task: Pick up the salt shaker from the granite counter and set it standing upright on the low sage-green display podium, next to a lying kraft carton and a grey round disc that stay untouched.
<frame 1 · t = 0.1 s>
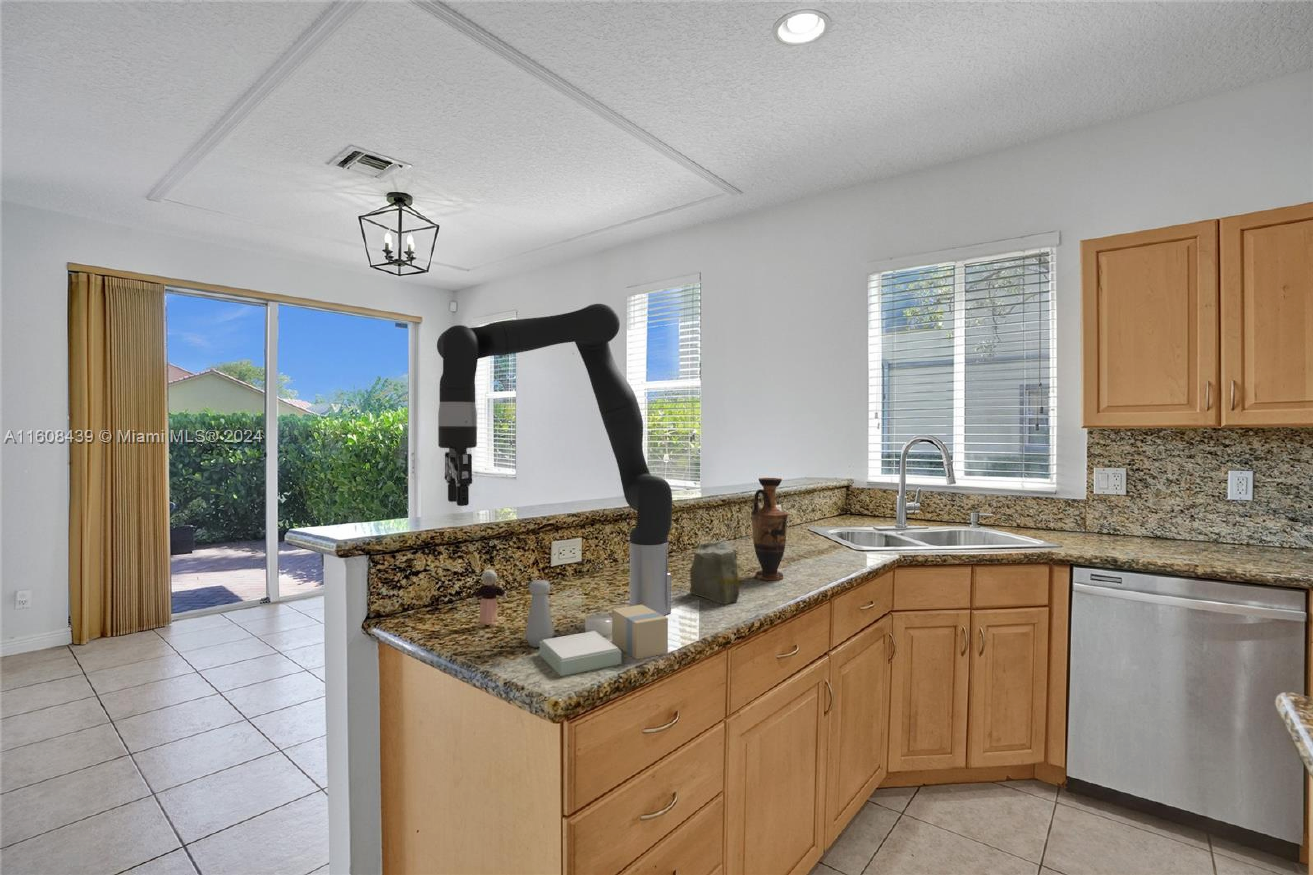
hand: (457, 503, 125), 29 cm above the counter, fingers open, 8 cm apart
kraft carton: (639, 647, 124), on the counter
podium: (579, 659, 118), on the counter
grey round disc: (599, 632, 134), on the counter
stone block: (720, 597, 163), on the counter
salt shaker: (539, 644, 126), on the counter
grandmother figurine: (489, 626, 138), on the counter
vase: (769, 578, 184), on the counter
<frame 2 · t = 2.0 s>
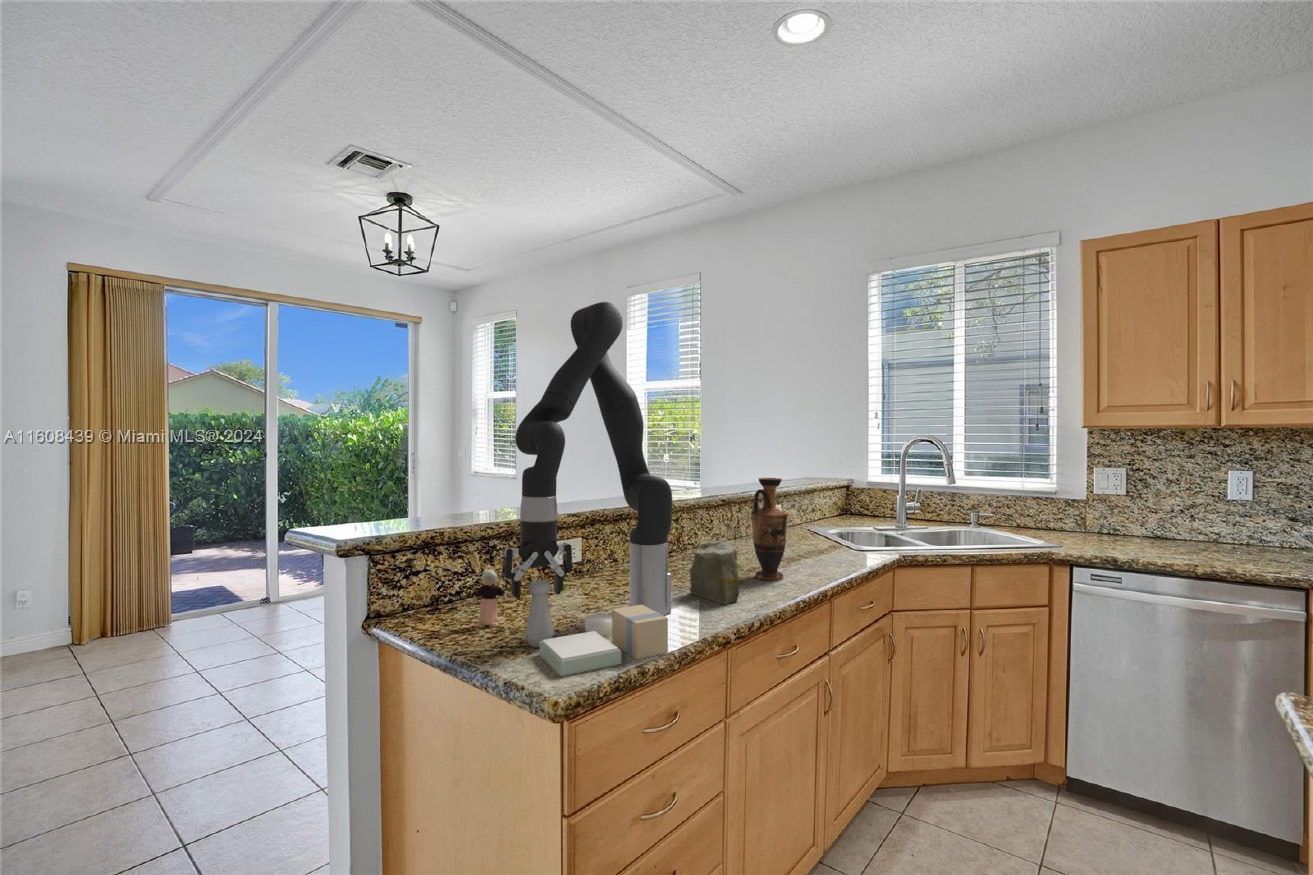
hand: (537, 596, 126), 10 cm above the counter, fingers open, 8 cm apart
nothing on the counter moved.
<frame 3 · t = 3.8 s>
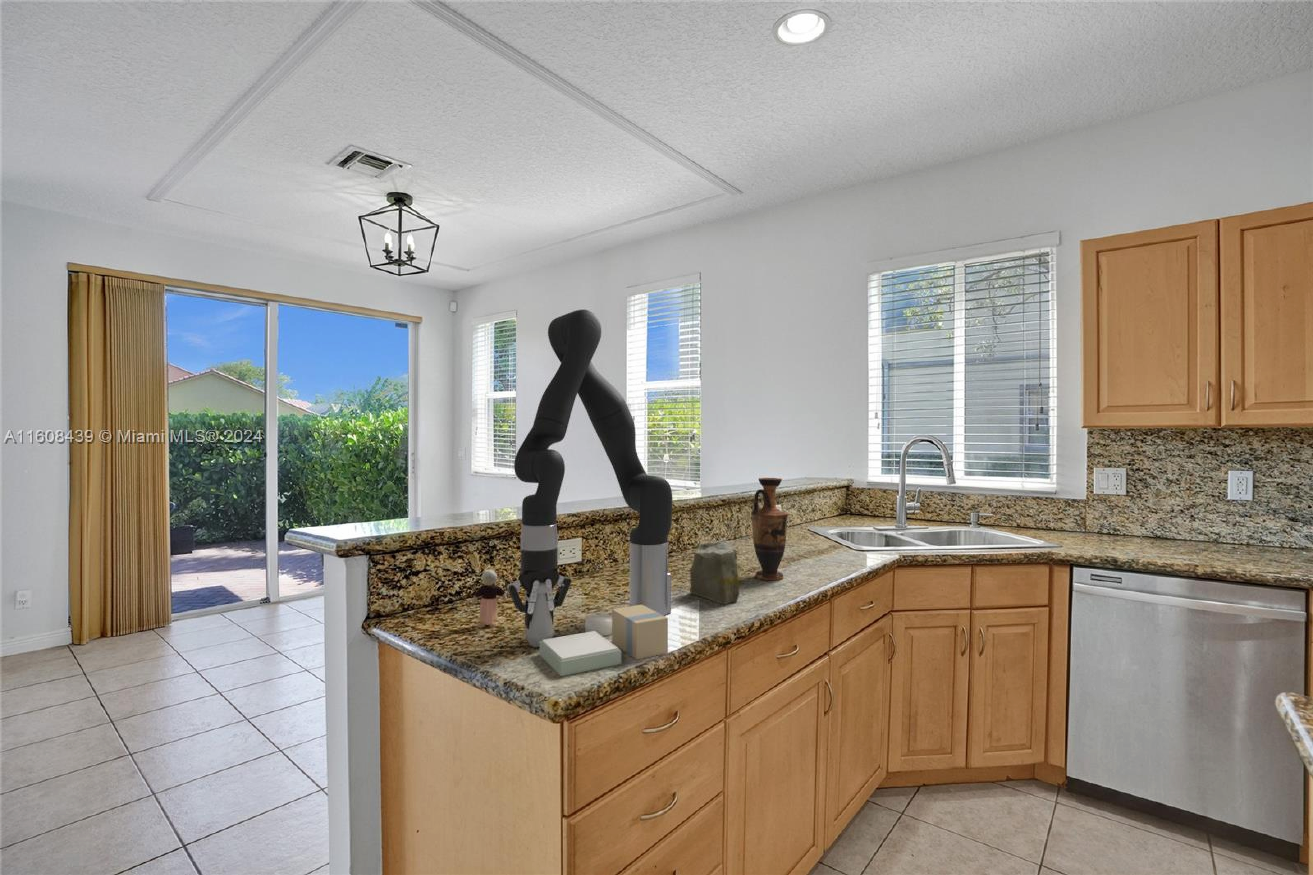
hand: (539, 628, 126), 3 cm above the counter, fingers closed on salt shaker, 3 cm apart
salt shaker: (539, 644, 126), on the counter, touching gripper
everything else where it was.
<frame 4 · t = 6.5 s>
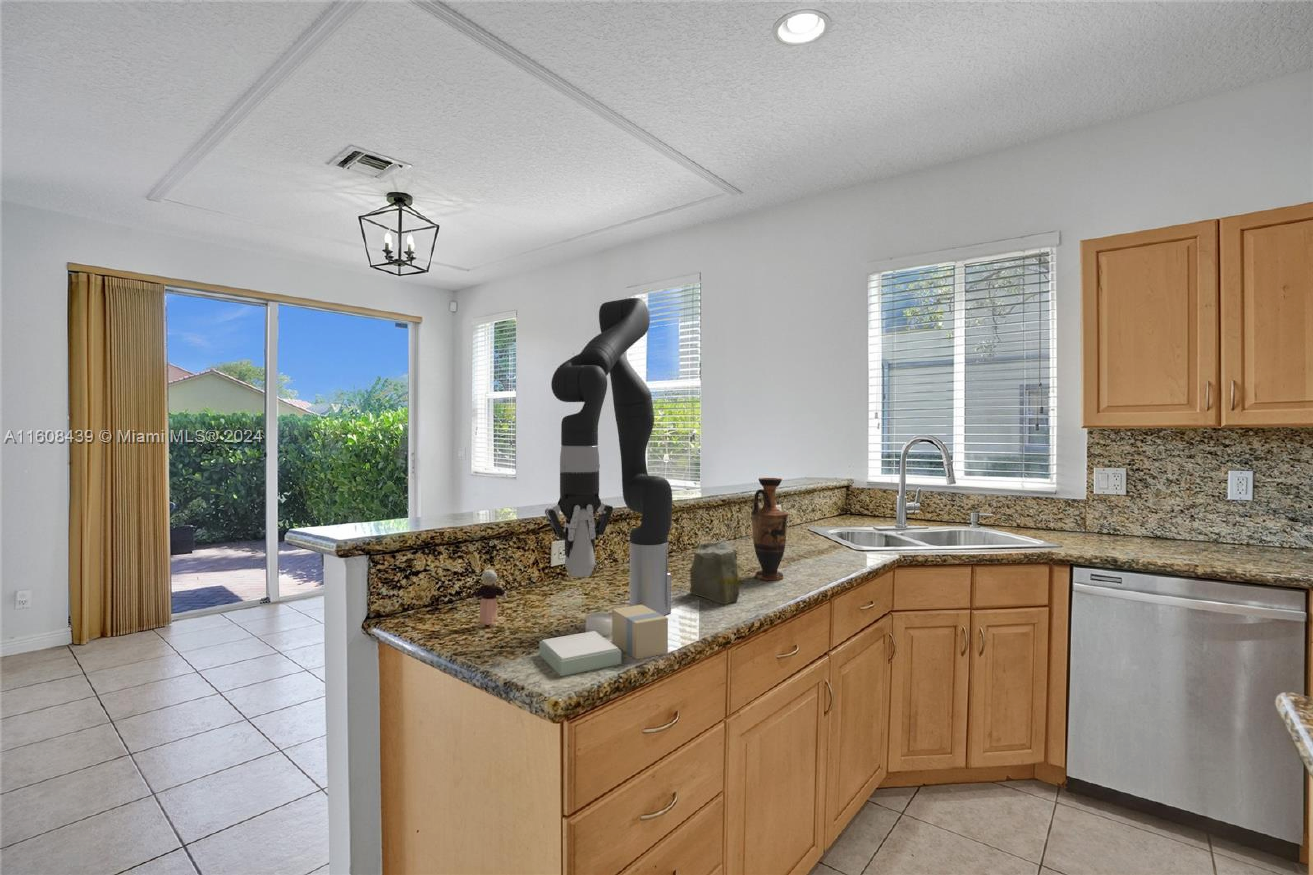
hand: (579, 558, 118), 19 cm above the counter, fingers closed on salt shaker, 3 cm apart
salt shaker: (580, 575, 118), point 16 cm above the counter, touching gripper
everything else where it was.
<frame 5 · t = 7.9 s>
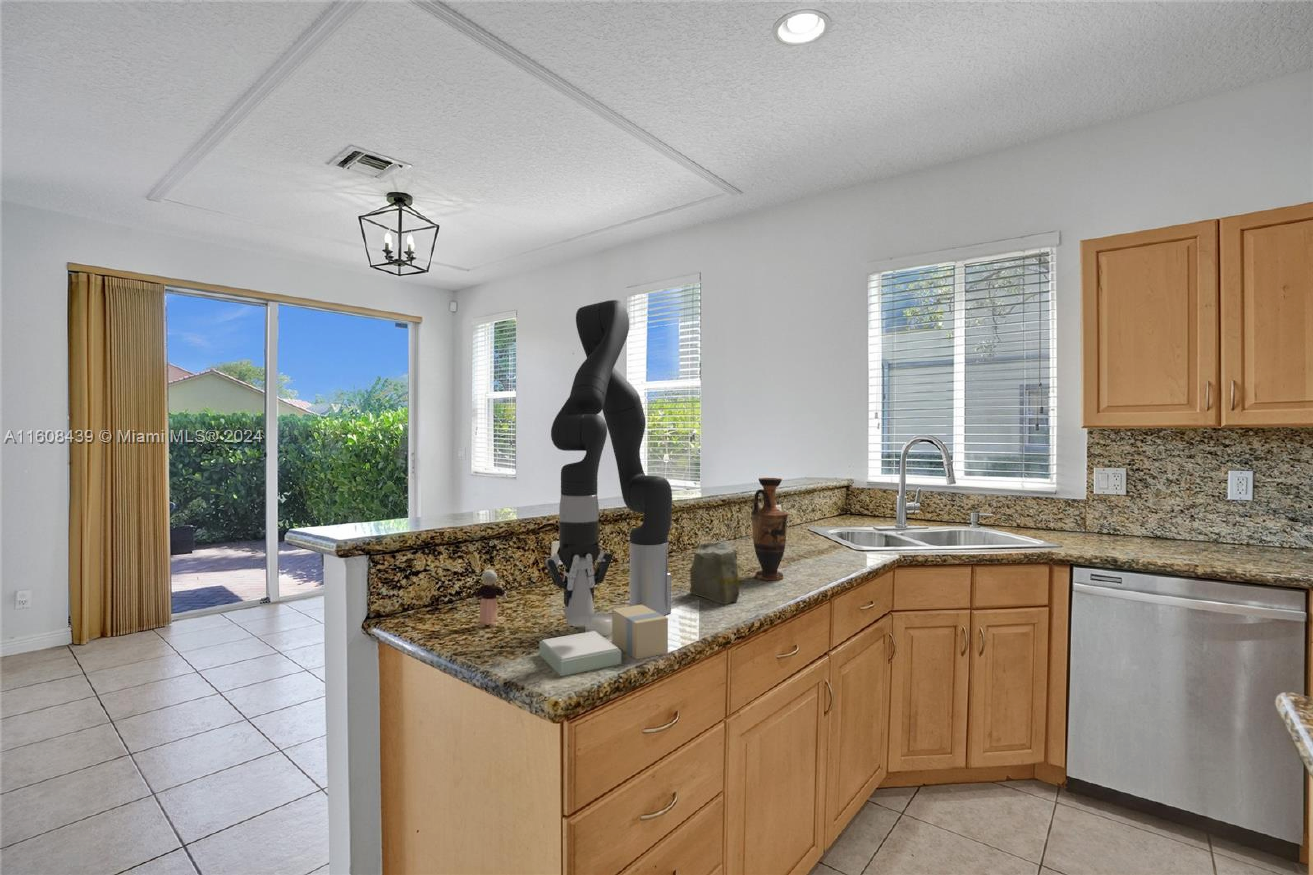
hand: (578, 606, 118), 10 cm above the counter, fingers closed on salt shaker, 3 cm apart
salt shaker: (579, 624, 118), point 7 cm above the counter, touching gripper
everything else where it was.
when the fingers open (8 cm above the counter, at t = 9.2 s): salt shaker drops 1 cm, resting on podium.
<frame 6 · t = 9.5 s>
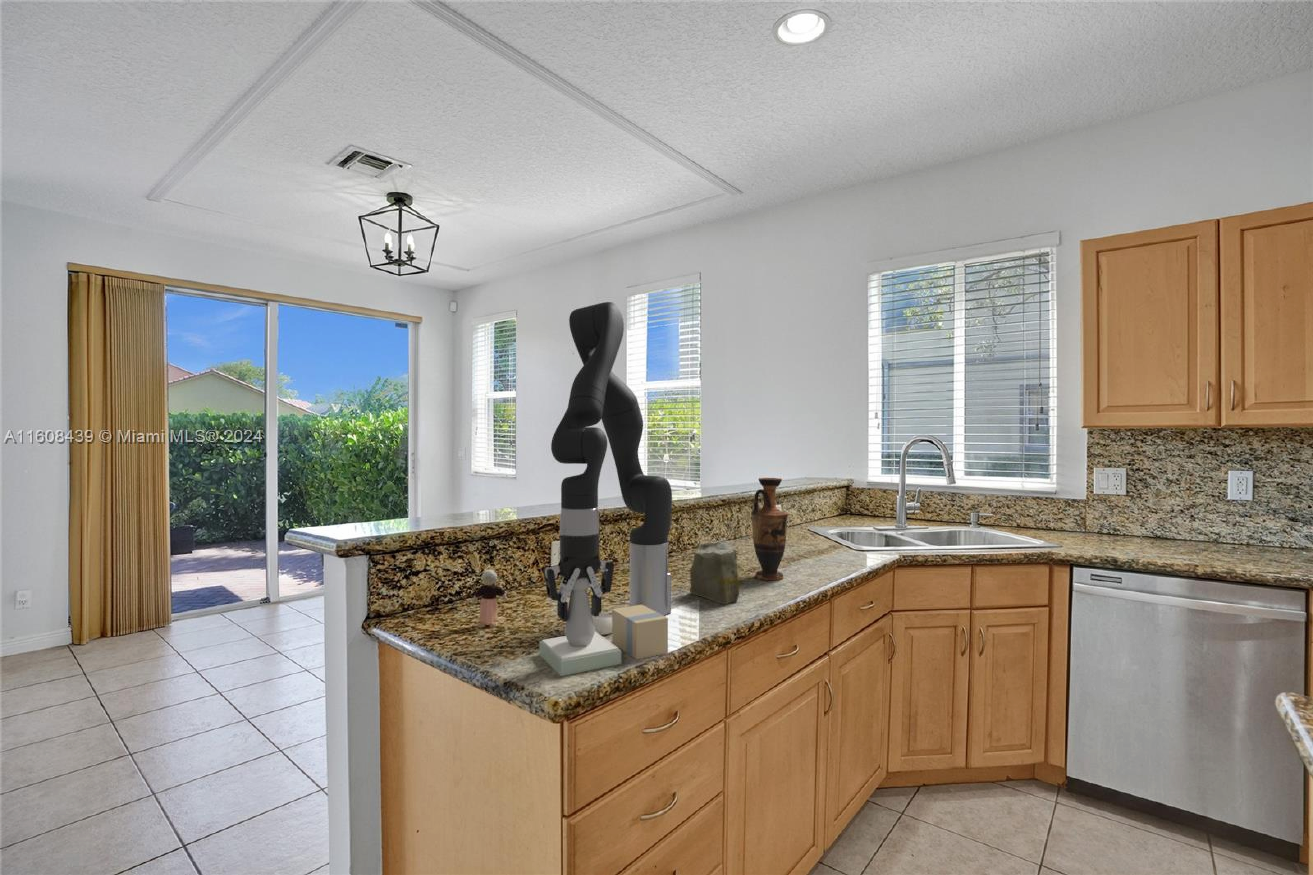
hand: (579, 617, 118), 8 cm above the counter, fingers open, 6 cm apart
salt shaker: (580, 644, 118), point 3 cm above the counter, touching podium
everything else where it was.
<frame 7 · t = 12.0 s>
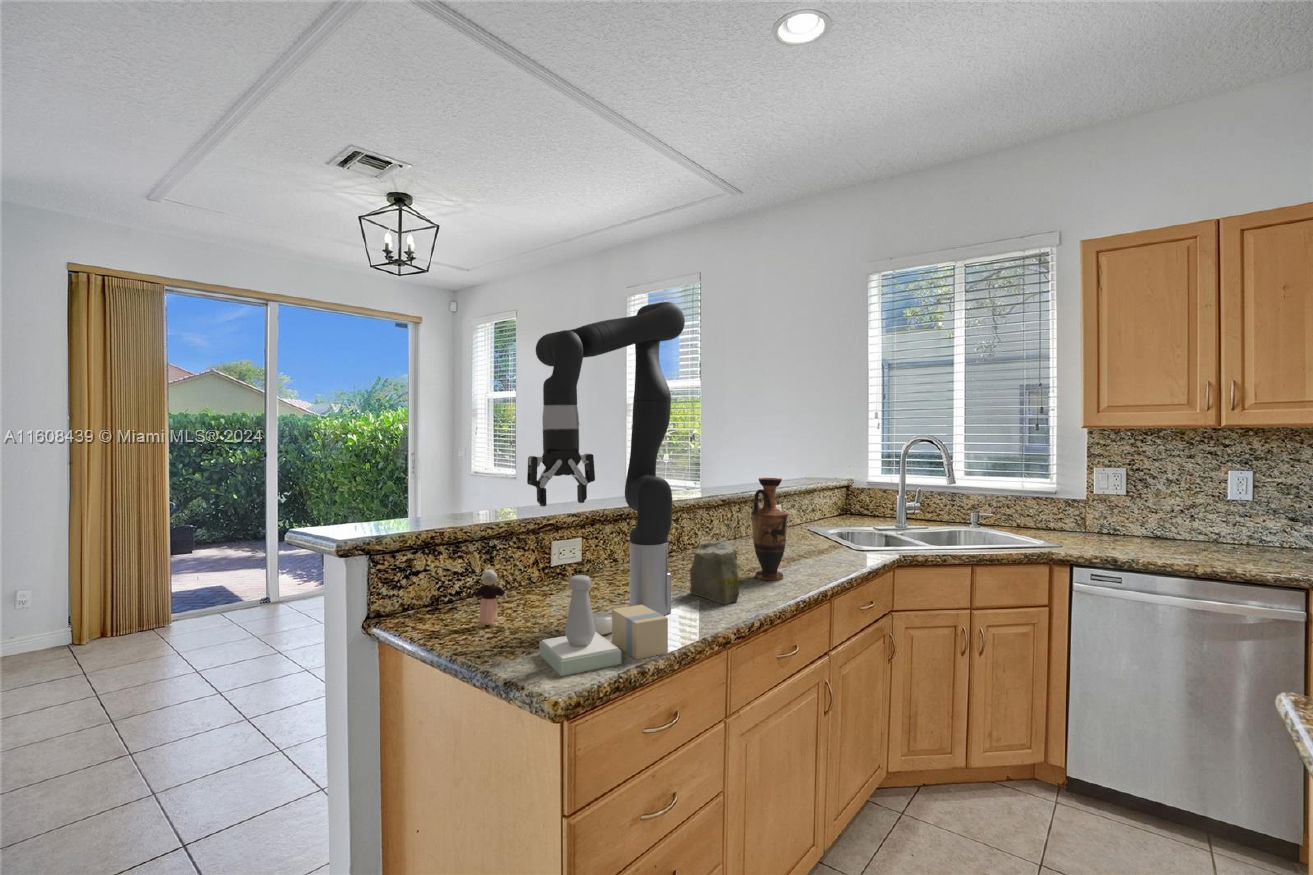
hand: (562, 504, 128), 29 cm above the counter, fingers open, 8 cm apart
nothing on the counter moved.
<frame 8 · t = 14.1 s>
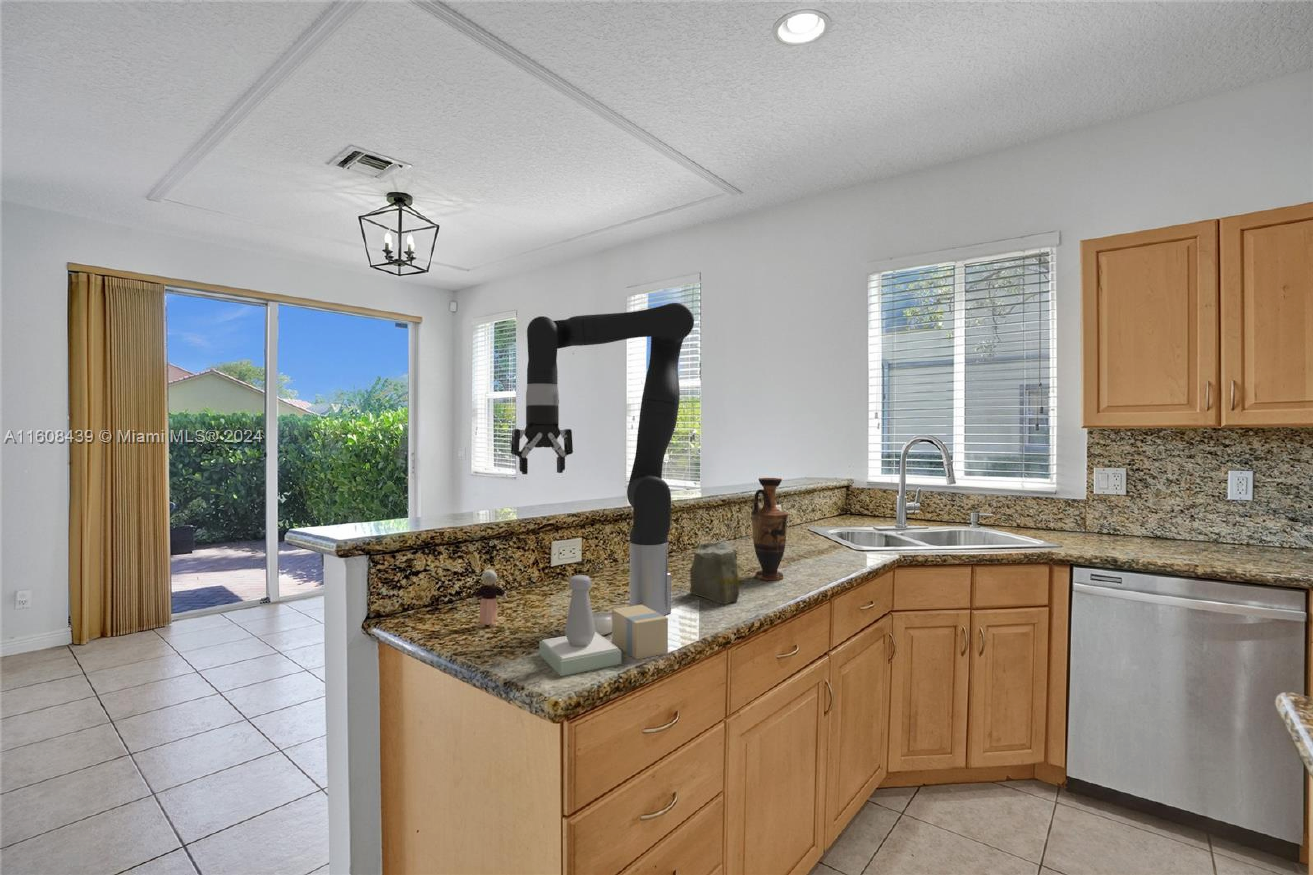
hand: (542, 473, 143), 34 cm above the counter, fingers open, 8 cm apart
nothing on the counter moved.
at the end: salt shaker inside the target area on the podium (0.1 cm from its centre), point 2.8 cm above the podium's base; salt shaker tilted 0°; the gripper is holding nothing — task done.
